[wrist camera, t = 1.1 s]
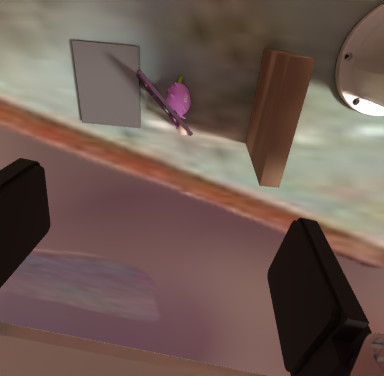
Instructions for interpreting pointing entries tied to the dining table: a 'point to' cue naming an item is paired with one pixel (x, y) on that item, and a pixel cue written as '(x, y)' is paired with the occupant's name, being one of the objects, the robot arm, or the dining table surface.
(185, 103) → the pink radish toy
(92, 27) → the dining table surface
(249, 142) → the screen
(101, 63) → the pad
